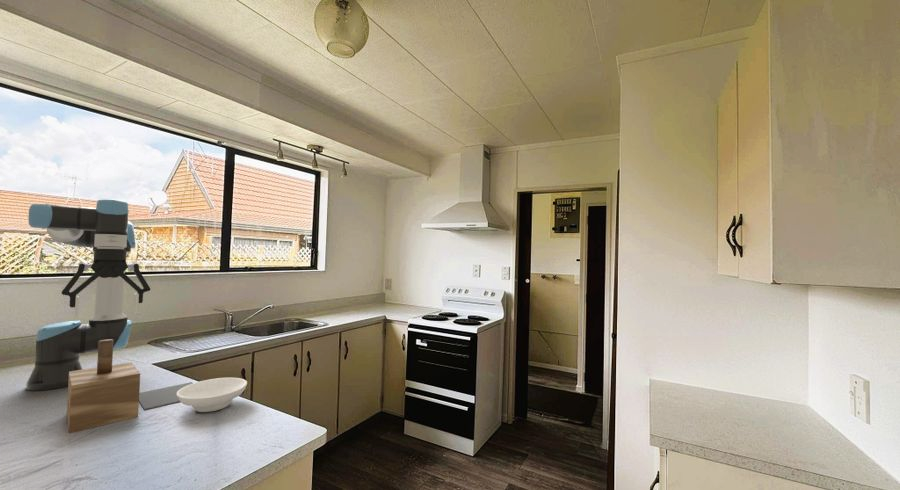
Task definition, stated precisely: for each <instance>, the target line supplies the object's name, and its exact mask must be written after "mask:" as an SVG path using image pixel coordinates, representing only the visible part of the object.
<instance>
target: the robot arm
mask: <svg viewBox="0 0 900 490" xmlns="http://www.w3.org/2000/svg"><path fill="white" fill-rule="evenodd" d="M129 213H130V211H129V203H128V202H127V201H125V200H122V199H121V200H119V199H111V198H110V199H109V198H100V199H98V200H97V201H96V207H86V206H73V205H72V206H69V205H60V204H59V205H58V204H57V205H56V204H49V203H33V204H31V205H30V206H29V209H28V225H29V227H31V228H34V229H35V228H36V229H42V230H45V229H46V233H47V235H48V236H49V237H50V238H51V239H53V240H54V241H56V242H59V243H62V244H65V245H69V246H74V247H79V248H80V247H81V248H92V253H93V262H92V264H86V263H79V264H78V268H77V270H76V272H75V273H74V275H73V277H71V278H70V279H69V282H67V284H66V285H65V286H64V288H63V289H62V290H61V295H63V296H68V297H69V307H70V308H74V311H73V312H74V316H73V318H74V319H75V320H69V321H61V322H57V323H52V324H48V325H45V326H41V327H40V328H39V329H37V332H36V339H35V357H34V367H33V370H32V372H31V374H30V375H29V377H28V379H27V381H26V384H25V387H26V390H27V391H33V392H34V391H46V390H55V389H56V390H57V389H60V388H61V389H62V388H66V387H68V379H69V372H70V371H77V370H83V367H82V363H81V362H80V355H82V354H88V353H89V354H91V353H96V352H97V353H98V342H99V341H100V340H106V339H113V351H114V350H121V349H124V348H125V347H126V346H127V345H128V342H129V338H130V334H131V329H132V323H133V321H132V320H130V319H128V315H126V314H125V313H124V299H125V298H124V297H125V282H126V283H127V284H128V285H129V286H130V287H131V288H132V289H133V290H135V291H136V292H137V293H134V295H133V297H134V299H133V314H134V315H137V314H139V304H142V303H143V301H144V293H146V292H149V291H151V287H150V286H149V284H148V283H147V281H146V279H145V277H144V275H143V274H142V272H141V271H140V266H139V264H138V263H132V264H128V263H127V256H128V255H129V254H131V251H132V250H131V249H135V248H136V238H135V236H136V235H135V231H134V226H133V225H134V224H133V223H132V222H130V221H129ZM128 268H129V270H130V271H131V272H132V271H133V274H135V276H136V278H137V280H138V282H139V283H140V284H141V287H142V288H141V287H140V286H139V285H138V284H137V283H136V282H134V280H132V279H131V278H130V277H129V276H128V275H127V274H126V270H127V269H128ZM89 269H91V270H92V271H93V272H94V273H93V274H91V275H90V276H89V277H88V278H87V279H86V280H85V281H83V282H82V283H81V284H79V285H78V286H77V287H76V288H75V289H74V290H72V291H70V290H71V289H72V288H73V287H74V286H75V284H76V283H77V281H78V280H79V279H80V278H81V276H82V275H83V274H84V272H87V271H88V270H89ZM95 280H96V281H95ZM94 281H95V300H94V314H93V315H92V316H91V317H89V318H88V323H82V321H81V320H77V319H79V316H80V315H79V313H80V312H79V311H80V295H79V294H80V293H81V292H82V291H83V290H85V288H87V286H89V285H91V283H93V282H94Z"/></svg>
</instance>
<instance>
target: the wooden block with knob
mask: <svg viewBox="0 0 900 490" xmlns="http://www.w3.org/2000/svg"><path fill="white" fill-rule="evenodd" d="M113 352H114V350H113V339H106V340H100V341H99V342H98V352H97V362H96V363H97V364H96V367H91V368H84V369H83V368H82V369H83V370H77V371H70V372H69V379H68V386H67V400H66V421H67V429H68V434H72V433H76V432H79V431H80V432H81V431H84V430H88V429H92V428H96V427H99V426H104V425H108V424H112V423H113V424H114V423H117V422H122V421H125V420H129V419H134V418H138V417H139V408H140V407H139V406H140V402H139V393H140V385H141V384H140V383H141V372H139V370H138V369H137V368H136V366H135V365H134V364H133V362H132V361H129V362H123V363H117V364H113V355H114V353H113Z"/></svg>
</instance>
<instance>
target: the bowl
mask: <svg viewBox="0 0 900 490" xmlns="http://www.w3.org/2000/svg"><path fill="white" fill-rule="evenodd" d="M192 383H193V384H190V385H187V386H185V387H183V388H181V389H180V390H178V391H177V397H178V399H179V401H180V402H179V403H182V404H183V405H185V406H191V407H192V408H193V409H194V411H196V412H199V413H209V412H214V411H215V412H216V411H218V410H222V409H225V408H227V407H228V406H229V405H230V404H231V402H232V401H233V400H234V399H236V398H238V397H240V396H241V395H242V393H243V392H244V391H245V390H246V388H247V385H248V381H247V380H246V379H244V378H241V377H217V378H210V379H206V380H205V379H204V380H200V381H197V382H192Z"/></svg>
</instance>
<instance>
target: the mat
mask: <svg viewBox="0 0 900 490" xmlns="http://www.w3.org/2000/svg"><path fill="white" fill-rule="evenodd" d="M193 383H194V382H192V381H191V382H185V383H181V384H175V385H171V386H166V387H161V388H156V389H152V390H151V389H150V390H147V391H141V392H139V405H140V406H141V407H142V408H143V410H144V411H148V410H151V409H155V408H160V407H163V406H168V405H172V404H173V405H174V404H177V403H181V402H180V401H179V399H178V397H177V391H178V390H180V389H181V388H183V387H185V386H187V385H190V384H193Z"/></svg>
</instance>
